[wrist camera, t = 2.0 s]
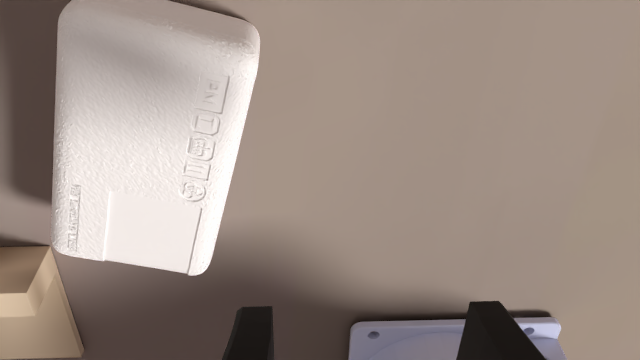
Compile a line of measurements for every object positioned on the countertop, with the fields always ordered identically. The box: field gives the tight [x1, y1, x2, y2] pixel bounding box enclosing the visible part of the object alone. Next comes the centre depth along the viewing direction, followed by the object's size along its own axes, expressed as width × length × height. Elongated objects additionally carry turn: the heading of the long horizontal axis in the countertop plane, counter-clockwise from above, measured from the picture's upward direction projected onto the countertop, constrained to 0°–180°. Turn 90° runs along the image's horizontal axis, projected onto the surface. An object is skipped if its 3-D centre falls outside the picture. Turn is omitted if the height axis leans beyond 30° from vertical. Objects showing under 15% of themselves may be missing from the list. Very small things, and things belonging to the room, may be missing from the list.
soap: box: [51, 0, 260, 276], centre depth 19 cm, size 9×6×3 cm, turn 164°
